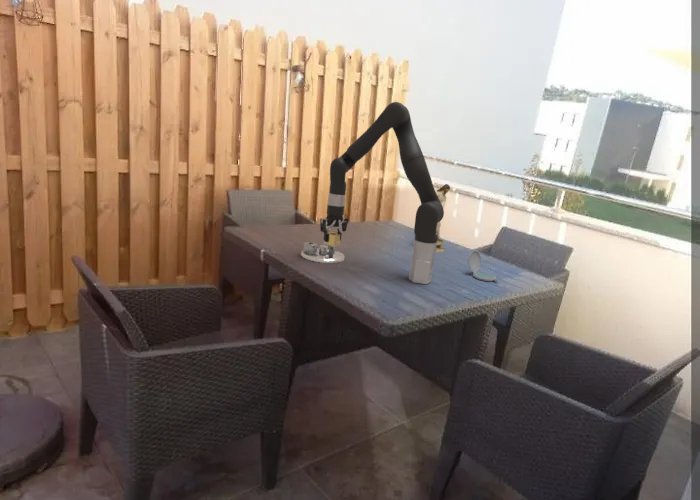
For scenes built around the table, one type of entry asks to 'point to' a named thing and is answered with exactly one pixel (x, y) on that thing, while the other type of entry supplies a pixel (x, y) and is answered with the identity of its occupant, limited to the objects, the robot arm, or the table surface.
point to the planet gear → (333, 239)
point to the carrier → (321, 253)
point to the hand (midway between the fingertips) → (332, 241)
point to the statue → (442, 198)
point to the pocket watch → (474, 266)
